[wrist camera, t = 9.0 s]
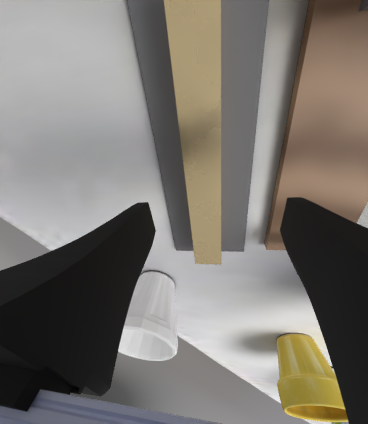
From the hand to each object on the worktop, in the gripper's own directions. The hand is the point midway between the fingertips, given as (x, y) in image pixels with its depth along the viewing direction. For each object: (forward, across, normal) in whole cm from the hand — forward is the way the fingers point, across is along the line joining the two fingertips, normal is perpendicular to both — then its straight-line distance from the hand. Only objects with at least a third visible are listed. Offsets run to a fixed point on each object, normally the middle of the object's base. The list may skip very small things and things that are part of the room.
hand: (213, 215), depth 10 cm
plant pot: (+10, -15, +37) cm, 41 cm away
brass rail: (+9, +1, 0) cm, 9 cm away
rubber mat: (+9, +1, 0) cm, 9 cm away
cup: (+10, +10, +20) cm, 24 cm away
